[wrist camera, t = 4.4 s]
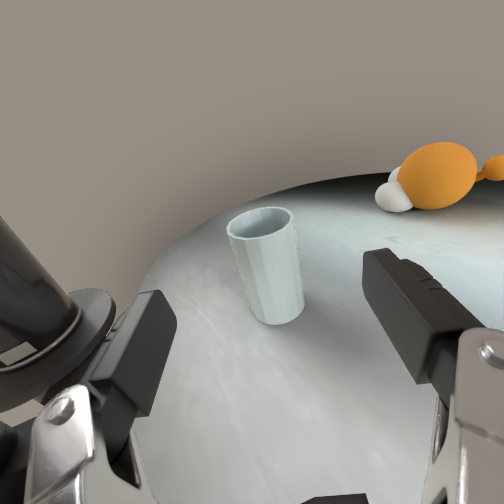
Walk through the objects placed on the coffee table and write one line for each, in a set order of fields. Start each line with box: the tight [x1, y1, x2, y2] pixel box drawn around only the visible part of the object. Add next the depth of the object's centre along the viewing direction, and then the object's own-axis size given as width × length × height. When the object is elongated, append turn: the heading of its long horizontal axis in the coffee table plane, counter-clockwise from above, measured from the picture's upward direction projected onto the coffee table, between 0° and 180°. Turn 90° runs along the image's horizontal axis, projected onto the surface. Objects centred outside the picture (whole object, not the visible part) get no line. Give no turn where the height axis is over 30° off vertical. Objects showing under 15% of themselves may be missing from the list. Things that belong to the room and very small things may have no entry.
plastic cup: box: [226, 207, 305, 325], centre depth 23 cm, size 6×6×10 cm
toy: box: [375, 142, 504, 212], centre depth 33 cm, size 9×10×15 cm
